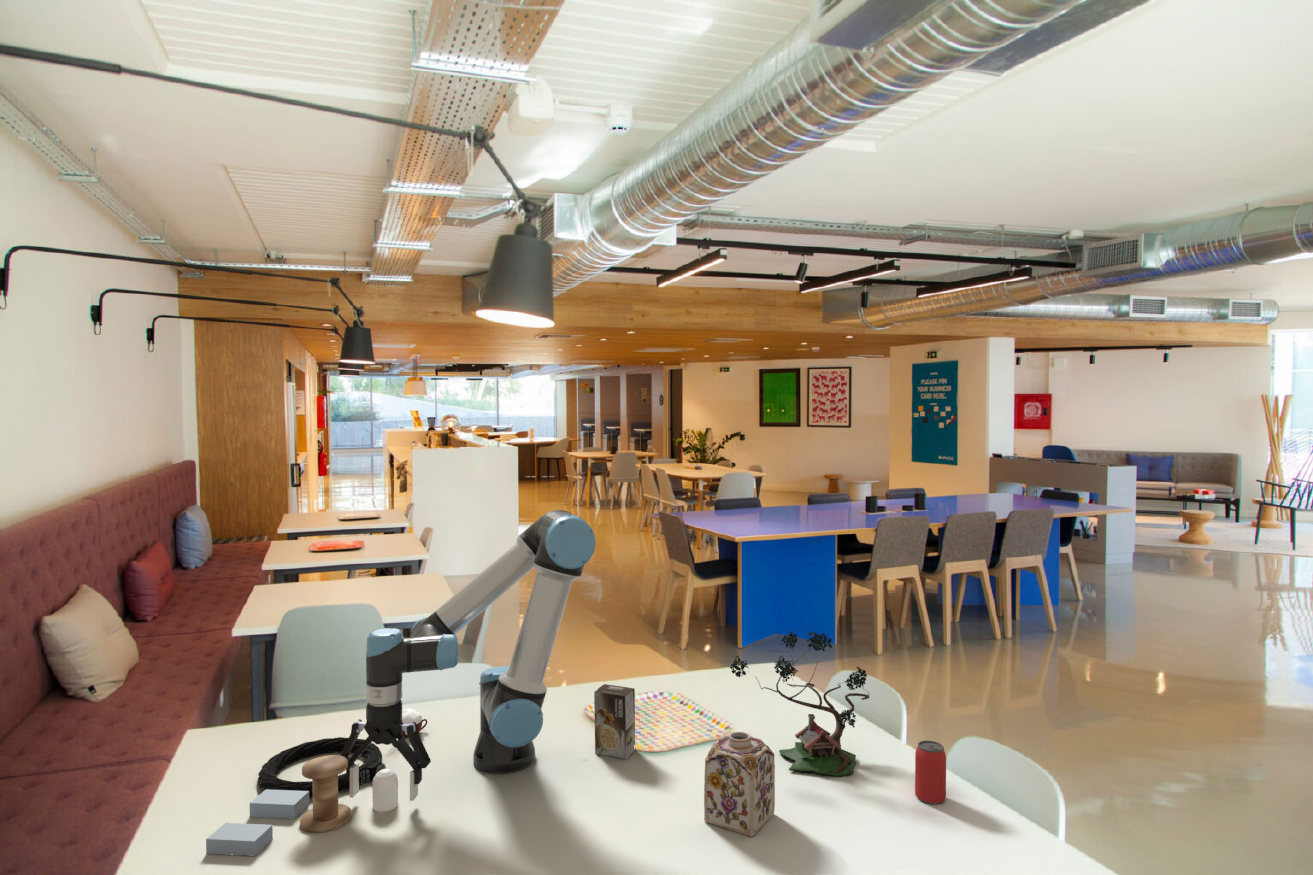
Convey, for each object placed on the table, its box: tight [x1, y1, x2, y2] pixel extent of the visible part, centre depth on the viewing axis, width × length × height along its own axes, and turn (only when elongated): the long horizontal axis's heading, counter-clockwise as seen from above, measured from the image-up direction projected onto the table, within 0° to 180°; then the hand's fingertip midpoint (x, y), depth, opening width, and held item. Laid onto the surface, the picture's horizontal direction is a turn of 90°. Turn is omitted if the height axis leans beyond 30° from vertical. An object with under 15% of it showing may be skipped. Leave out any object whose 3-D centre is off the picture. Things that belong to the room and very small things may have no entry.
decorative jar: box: [703, 731, 776, 838], centre depth 164 cm, size 12×12×18 cm
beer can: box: [914, 740, 947, 805], centre depth 172 cm, size 7×7×12 cm
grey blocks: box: [205, 789, 310, 857], centre depth 160 cm, size 10×20×3 cm, turn 175°
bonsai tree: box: [729, 630, 870, 777], centre depth 193 cm, size 35×24×32 cm
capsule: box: [372, 768, 399, 813], centre depth 169 cm, size 5×5×8 cm
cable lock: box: [257, 736, 387, 798], centre depth 185 cm, size 28×4×30 cm
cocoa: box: [401, 708, 428, 738], centre depth 207 cm, size 10×6×12 cm, turn 97°
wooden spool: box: [299, 754, 352, 834], centre depth 163 cm, size 10×10×12 cm
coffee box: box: [593, 683, 636, 759], centre depth 196 cm, size 9×6×16 cm
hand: (383, 796), depth 169 cm, fingers open, 13 cm apart
